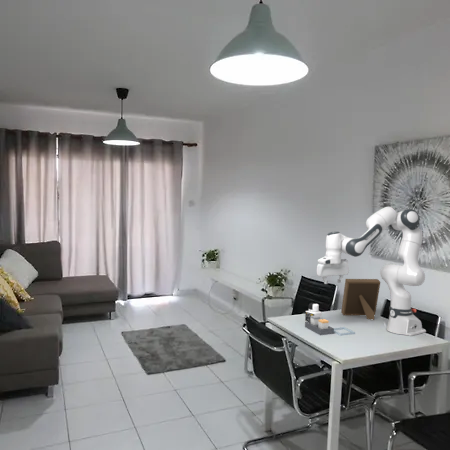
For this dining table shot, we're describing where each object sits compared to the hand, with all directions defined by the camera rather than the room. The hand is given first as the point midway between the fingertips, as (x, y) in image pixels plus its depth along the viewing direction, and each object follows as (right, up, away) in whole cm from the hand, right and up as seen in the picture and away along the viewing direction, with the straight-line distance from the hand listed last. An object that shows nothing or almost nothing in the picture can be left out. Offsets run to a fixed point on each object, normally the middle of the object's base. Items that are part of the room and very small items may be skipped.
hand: (332, 283), depth 245 cm
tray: (+4, -28, -4) cm, 29 cm away
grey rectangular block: (-10, -27, +2) cm, 29 cm away
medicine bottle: (-8, -27, +17) cm, 33 cm away
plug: (-7, -27, -6) cm, 29 cm away
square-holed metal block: (-8, -28, -2) cm, 29 cm away
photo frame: (+27, -27, +32) cm, 50 cm away
